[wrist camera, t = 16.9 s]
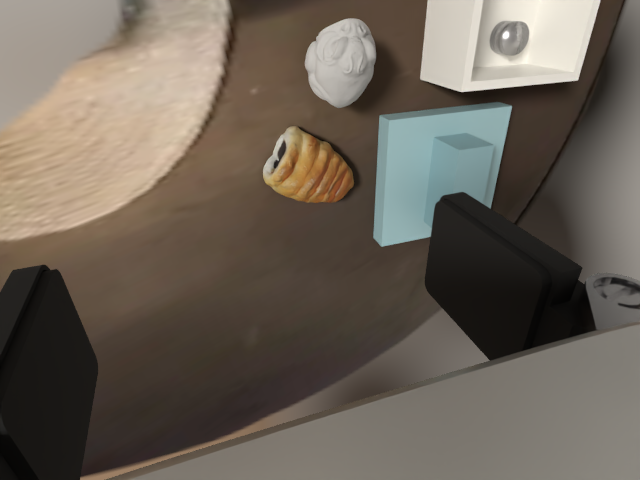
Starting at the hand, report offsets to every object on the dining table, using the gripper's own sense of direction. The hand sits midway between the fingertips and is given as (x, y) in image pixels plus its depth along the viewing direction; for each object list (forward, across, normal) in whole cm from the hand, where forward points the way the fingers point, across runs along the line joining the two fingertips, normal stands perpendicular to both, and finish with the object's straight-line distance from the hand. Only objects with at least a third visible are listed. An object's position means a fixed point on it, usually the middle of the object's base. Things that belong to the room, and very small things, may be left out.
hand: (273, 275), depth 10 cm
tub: (+30, -28, -5) cm, 42 cm away
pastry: (+31, -10, +9) cm, 33 cm away
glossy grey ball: (+30, -30, -2) cm, 42 cm away
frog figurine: (+31, -12, -1) cm, 33 cm away
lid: (+30, -25, +12) cm, 41 cm away
